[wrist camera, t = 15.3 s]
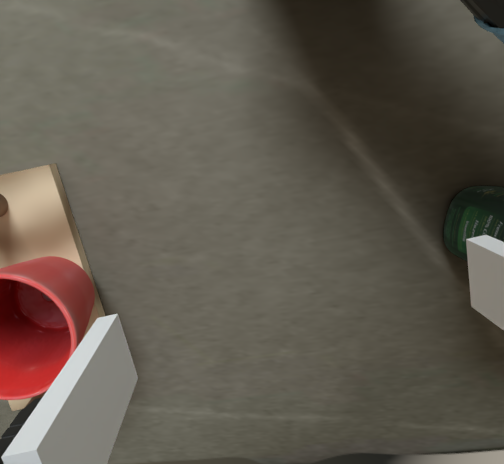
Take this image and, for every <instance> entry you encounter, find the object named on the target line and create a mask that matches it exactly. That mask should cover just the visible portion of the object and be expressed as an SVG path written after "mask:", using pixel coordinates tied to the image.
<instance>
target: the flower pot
mask: <svg viewBox="0 0 504 464" xmlns="http://www.w3.org/2000/svg"><path fill="white" fill-rule="evenodd" d="M94 301H95V292H94V287H93V284H92V282H91V279H90V278H89V276H88V275H87V273H86V272H85V271H84V270H83V269H82V268H81V267H80V266H79V265H77V264H76V263H74V262H72V261H70V260H68V259H65V258H62V257H56V256H46V257H40V258H36V259H33V260H28V261H25V262H21V263H17V264H14V265H10V266H7V267H4V268H0V399H1V400H21V399H27V398H31V397H35V396H37V395H40V394H42V393H44V392H46V391H47V390H48V389H49V387H50V386H51V385H52V383H53V382H54V380H55V379H56V377H57V376H58V374H59V373H60V372H61V370H62V369H63V367H64V366H65V364H66V363H67V361H68V360H69V358H70V357H71V356H72V354H73V353H74V351H75V350H76V348H77V347H78V345H79V344H80V343H81V341H82V340H83V337H84V334H85V332H86V329H87V326H88V323H89V319H90V316H91V313H92V309H93V306H94Z"/></svg>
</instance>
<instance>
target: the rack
mask: <svg viewBox="0 0 504 464" xmlns="http://www.w3.org/2000/svg"><path fill="white" fill-rule="evenodd" d="M46 256H56V257H62V258H65V259H68V260H70V261H72V262H74V263H76V264H77V265H79V266H80V267H81V268H82V269H83V270H84V271H85V272H86V273H87V275H88V276H89V278H90V279H91V282H92V284H93V287H94V292H95V301H94V306H93V309H92V313H91V316H90V319H89V323H88V326H87V329H86V332H85V334H84V337H85V335H86V334H87V332H88V331H89V330H90V328H91V327H92V325H93V324H94V322H95V321H96V319H97V318H100V317H105V313H104V310H103V307H102V304H101V301H100V298H99V295H98V292H97V289H96V285H95V282H94V279H93V276H92V273H91V270H90V267H89V264H88V261H87V258H86V255H85V252H84V249H83V246H82V242H81V239H80V236H79V233H78V230H77V227H76V224H75V221H74V218H73V215H72V212H71V209H70V206H69V203H68V200H67V196H66V193H65V190H64V187H63V184H62V181H61V178H60V175H59V172H58V169H57V166H56V163H55V164H50V165H46V166H41V167H36V168H32V169H27V170H22V171H18V172H13V173H8V174H4V175H0V268H4V267H7V266H10V265H14V264H17V263H21V262H25V261H28V260H33V259H36V258H40V257H46ZM84 337H83V338H84ZM46 392H47V391H46ZM46 392H44V393H42V394H40V395H37V396H35V397H31V398H27V399H21V400H8V402H9V404H10V407H11V409H12V411H15V410H19V409H24V408H25V407H26V406H27V405H28V404H30V403H31V402H32V401H33V400H34V399H36V398H41V397H43V396H44V395H45V393H46Z"/></svg>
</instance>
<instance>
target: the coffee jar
mask: <svg viewBox="0 0 504 464" xmlns="http://www.w3.org/2000/svg"><path fill="white" fill-rule="evenodd" d="M483 235H488V236H491V237H493V238H495V239H498V240H500V241H502V242H504V187H497V186H474V187H469V188H466V189H464V190H462V191H461V192H460V193H458V194H457V195H456V196H455V198H454V199H453V200H452V202H451V204H450V206H449V209H448V212H447V215H446V219H445V224H444V242H445V245H446V247H447V248H448V250H449V251H450V252H452V253H453V254H455V255H456V256H458V257H460V258H462V259H464V260H465V261H467V262H468V259H467V246H466V239H469V238H473V237H478V236H483Z"/></svg>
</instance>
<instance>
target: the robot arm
mask: <svg viewBox="0 0 504 464" xmlns="http://www.w3.org/2000/svg"><path fill="white" fill-rule="evenodd" d="M461 2H462V3H463V4H464V5H465V6H466V7H467V8H468V9H469V10H470V12H471V13H472V14H473V15H474V19H475V22H476V23H477V24H478V25H479V26H480V27H481V28H483V29H485V30H486V31H489V32H492V33H493V34H494V35H495V36H496V37H497V38H498V39H500V40H501V41H502V42H503V43H504V0H461ZM466 246H467V259H468V272H469V285H470V298H471V307H473V308H474V309H475V310H477V311H478V312H479V313H481V314H482V315H483V316H485V317H486V318H487V319H489V320H490V321H491V322H493V323H494V324H495V325H497V326H498V327H500V328H501V329H502V330H504V242H502V241H500V240H498V239H495V238H493V237H491V236H488V235H483V236H478V237H473V238H469V239H466ZM137 380H138V376H137V373H136V369H135V366H134V363H133V360H132V357H131V354H130V350H129V347H128V344H127V341H126V338H125V335H124V332H123V328H122V325H121V322H120V319H119V316H118V314H114V315H109V316H105V317H100V318H97V319H96V321H95V322H94V324H93V325H92V327H91V328H90V330H89V331H88V332H87V334H86V335H85V337H84V338H83V340H82V341H81V343H80V344H79V345H78V347H77V348H76V350H75V351H74V353H73V354H72V356H71V357H70V358H69V360H68V361H67V363H66V364H65V366H64V367H63V369H62V370H61V372H60V373H59V374H58V376H57V377H56V379H55V380H54V382H53V383H52V385H51V386H50V387H49V389H48V390H47V392H46V393H45V395H44V396H43V397H41V398H36V399H34V400H33V401H32V402H31V403H30V404H28V405H27V406H26V407H25V408H24V409H23V410H21V411H20V412H19V414H18V415H17V416H16V418H15V419H14V420H13V422H12V423H11V424H10V428H8V429H7V430H6V431H5V433H4V434H3V435H2V439H0V464H107V462H108V459H109V457H110V454H111V451H112V448H113V446H114V443H115V440H116V437H117V435H118V432H119V429H120V426H121V424H122V421H123V418H124V415H125V413H126V410H127V407H128V404H129V402H130V399H131V396H132V393H133V391H134V388H135V385H136V382H137Z"/></svg>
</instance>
